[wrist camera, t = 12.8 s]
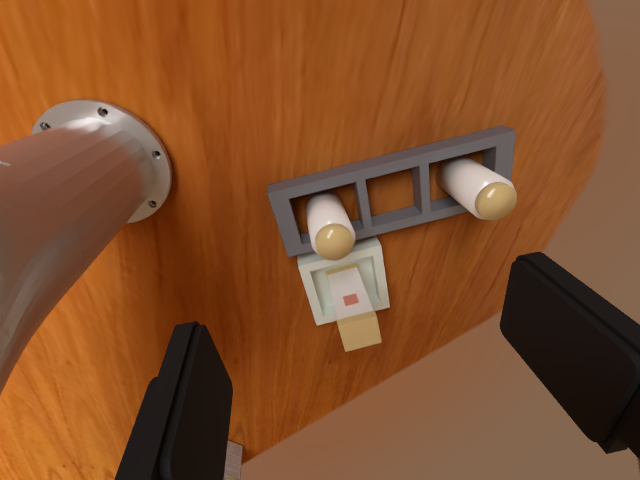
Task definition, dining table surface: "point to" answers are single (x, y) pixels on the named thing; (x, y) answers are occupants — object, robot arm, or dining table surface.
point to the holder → (491, 141)
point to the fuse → (353, 308)
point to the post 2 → (476, 187)
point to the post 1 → (329, 225)
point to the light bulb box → (233, 461)
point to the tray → (362, 254)
